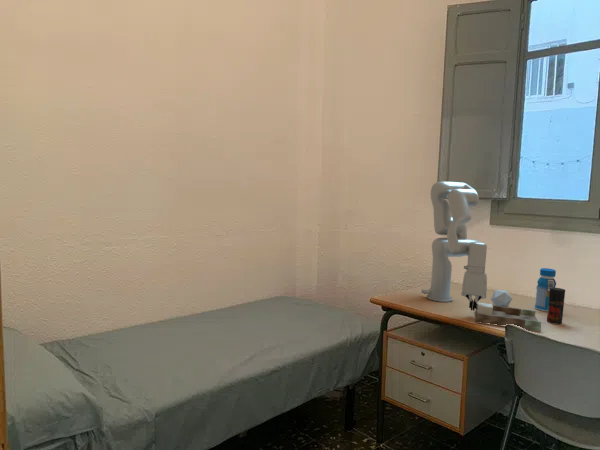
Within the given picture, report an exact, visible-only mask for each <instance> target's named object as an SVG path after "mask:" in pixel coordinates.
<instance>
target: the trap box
mask: <svg viewBox="0 0 600 450" xmlns="http://www.w3.org/2000/svg"><path fill="white" fill-rule="evenodd" d="M492 306H493V313H492V315H487V314H479V313H477V309H478V303H477V305H476V309H475V310H474V311H475V323H476V322H481V323H490V324H497V325H506V324H514V325H517V326H520V327H522V328H525V329H528V330H527V331H532V332H534V331H535V332H541V329H542V321H540V320H538V318H537V316H536V310H534V309H533V310H532V309H525V308H516V307H509V306H508V307H501V306H495V305H494V304H492ZM481 323H480V324H481ZM525 329H524V330H525Z"/></svg>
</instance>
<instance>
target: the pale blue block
mask: <svg viewBox="0 0 600 450" xmlns="http://www.w3.org/2000/svg"><path fill="white" fill-rule="evenodd" d="M477 304H478V309H477V313H479V314H487V315H492V313H493V306H494V305H493V304H492V303H484V302H483V303H482V302H477ZM492 305H493V306H492Z"/></svg>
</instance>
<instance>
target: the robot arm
mask: <svg viewBox="0 0 600 450" xmlns="http://www.w3.org/2000/svg"><path fill="white" fill-rule="evenodd" d="M446 199H447V200H448V201H447V200H446ZM430 201H431V204H432V208H433V227H434V232H435V234H437V235H440V236H446V237H437V238H435V239H434V240H433V241H432V243H431V252H432V253H431V254H432V265H431V266H432V267H431V268H432V269H431V278H430V279H431V281H430V288H428V289H424V288H422V289H421V293H423V294H426V298H427V299H429V300H430V301H434V302H440V303H449V302H452V301H453V297H452V296H450V295H451V294H450V293H451V283H452V282H451V281H452V271H453V269H452V268H453V266H452V263H451V261H450V259H449V258H451V257H457V258H459V257H460V258H461V257H464V256H467V264H466V265H464V266H463V270H466V271H464V273H463V274H464V275H463V279H462V287H461V293H460V295H461V296H462V297H466V299H467V300H468V301H469V307H468V308H469V309H470V311H473V312H474V311H476V305H477V304H478V302H479V301H481V299H482V300H483V299H487V290H488V277H487V273H486V262H487V250H488V245H487V244H486V243H485V242H481V241H479V240H477V239H472V238H471V239H469V238H468V234H467V231H468V230H467V223H469V222H471V220H472V214H471V209H470V207H471V208H472V207H476V206H477V205H478V204H479V202H480V196H479V194H478V192H477V190H476V189H475V188H474V187H472V186H470V185H469V184H468V183H466V182H462V181H461V182H460V181H459V182H458V181H448V180H447V181H445V180H444V181H441V180H440V181H437V182H435V183H432V186H431V188H430ZM473 296H474V299H473Z"/></svg>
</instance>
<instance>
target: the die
mask: <svg viewBox="0 0 600 450" xmlns="http://www.w3.org/2000/svg"><path fill="white" fill-rule="evenodd" d="M512 300H513V298H512V296H511V295H510V294H509V292H508V291H507V290H503V289H495V290H494V291H493V293H492V295H491V298H490V301H492V303H493V305H494V306H501V307H509V305H510V303H511V302H512Z"/></svg>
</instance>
